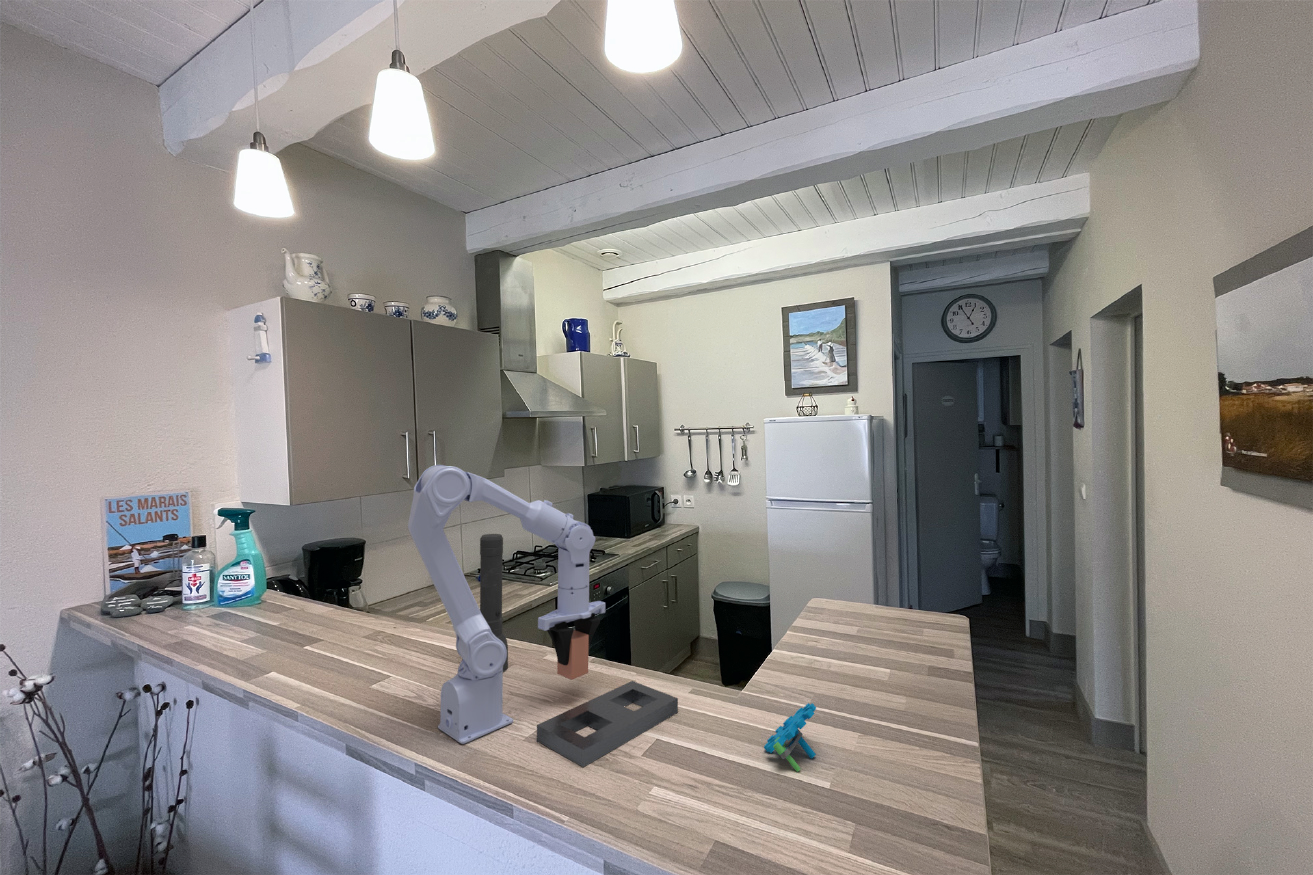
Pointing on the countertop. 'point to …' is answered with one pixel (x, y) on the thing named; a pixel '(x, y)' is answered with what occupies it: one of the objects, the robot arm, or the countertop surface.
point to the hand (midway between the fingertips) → (572, 659)
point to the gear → (792, 735)
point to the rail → (606, 722)
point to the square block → (576, 657)
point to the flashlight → (492, 585)
